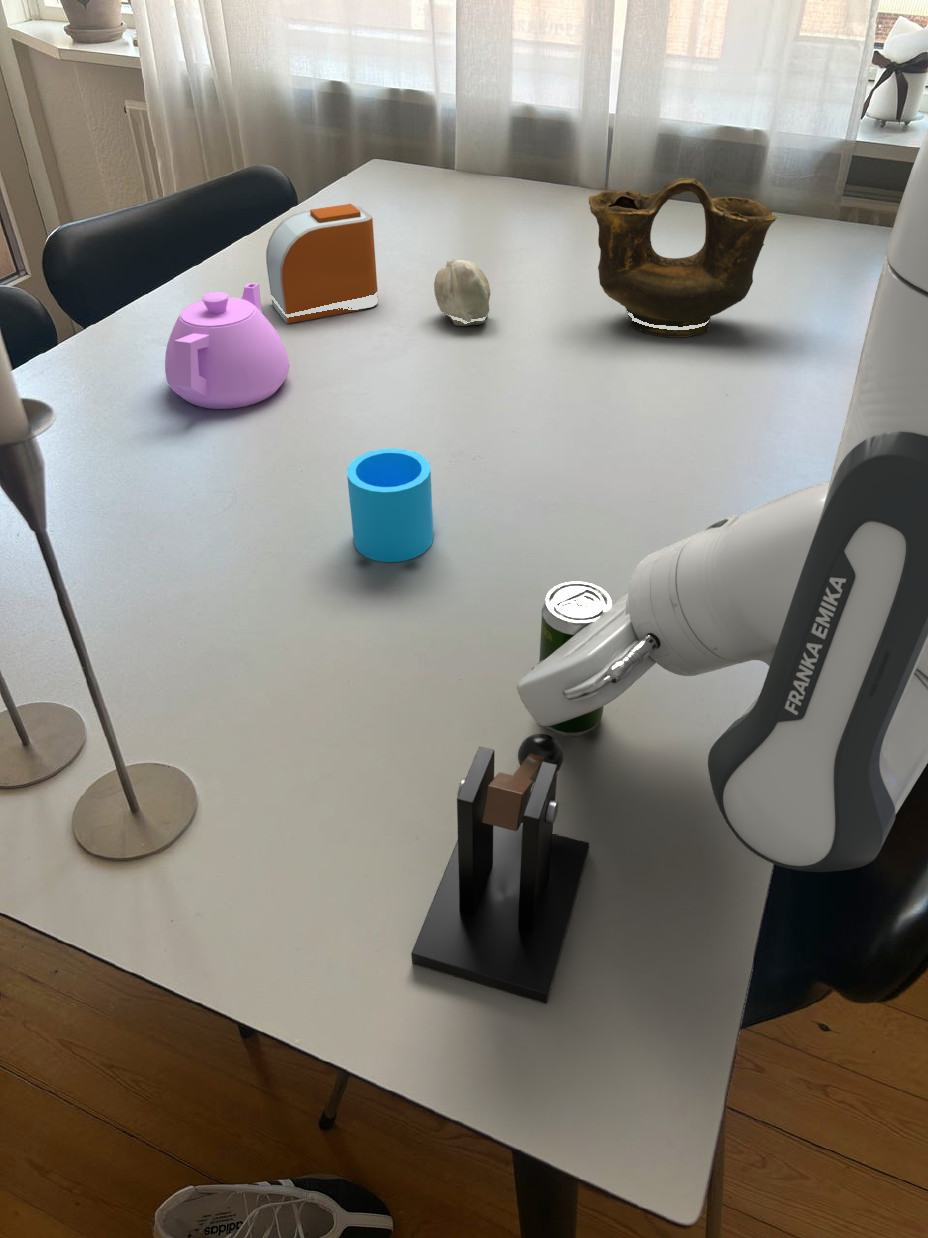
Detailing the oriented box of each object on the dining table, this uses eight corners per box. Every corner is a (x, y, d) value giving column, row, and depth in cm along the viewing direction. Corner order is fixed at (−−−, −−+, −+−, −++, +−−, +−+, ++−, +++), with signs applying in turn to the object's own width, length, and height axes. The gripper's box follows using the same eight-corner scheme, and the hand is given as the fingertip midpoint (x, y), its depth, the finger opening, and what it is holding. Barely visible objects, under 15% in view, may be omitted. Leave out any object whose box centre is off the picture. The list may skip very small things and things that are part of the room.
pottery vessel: (577, 334, 137) (586, 187, 124) (583, 304, 145) (592, 164, 133) (757, 345, 134) (786, 194, 121) (753, 314, 142) (780, 170, 129)
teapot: (252, 432, 116) (236, 337, 108) (135, 418, 119) (111, 324, 112) (317, 355, 133) (307, 268, 125) (213, 345, 136) (197, 259, 128)
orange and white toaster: (363, 287, 152) (356, 197, 143) (382, 306, 146) (376, 213, 137) (271, 303, 147) (258, 211, 138) (287, 324, 141) (274, 228, 132)
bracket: (469, 822, 71) (467, 697, 63) (589, 853, 69) (603, 728, 61) (411, 964, 62) (401, 841, 54) (546, 1004, 60) (557, 883, 52)
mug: (414, 569, 95) (410, 498, 90) (339, 552, 97) (331, 482, 92) (458, 506, 103) (457, 438, 98) (389, 492, 106) (384, 425, 100)
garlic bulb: (484, 344, 140) (496, 289, 132) (427, 335, 140) (435, 279, 131) (488, 301, 145) (499, 245, 137) (432, 292, 145) (440, 235, 136)
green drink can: (557, 748, 77) (565, 633, 69) (524, 705, 80) (529, 591, 73) (614, 726, 78) (629, 611, 71) (580, 685, 82) (590, 572, 74)
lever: (520, 766, 70) (527, 724, 70) (562, 776, 69) (570, 734, 69) (472, 827, 58) (480, 776, 57) (523, 840, 57) (532, 789, 56)
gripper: (629, 732, 58) (503, 760, 70) (790, 577, 70) (660, 623, 81) (575, 644, 58) (457, 687, 69) (746, 503, 70) (621, 559, 81)
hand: (568, 651), depth 75 cm, fingers closed on green drink can, 5 cm apart
